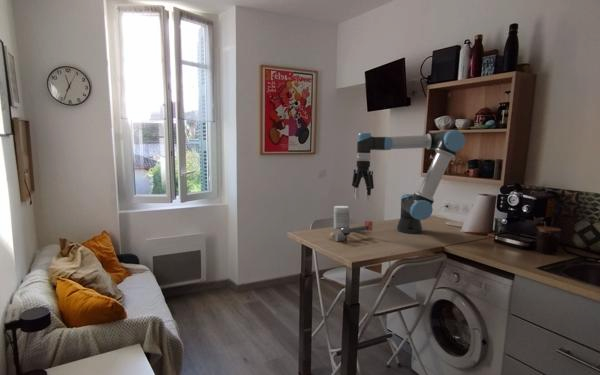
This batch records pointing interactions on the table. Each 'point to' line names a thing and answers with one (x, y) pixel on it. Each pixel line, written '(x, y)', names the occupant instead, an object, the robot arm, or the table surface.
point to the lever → (346, 231)
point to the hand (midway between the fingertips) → (362, 199)
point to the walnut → (332, 235)
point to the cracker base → (357, 240)
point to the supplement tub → (341, 217)
